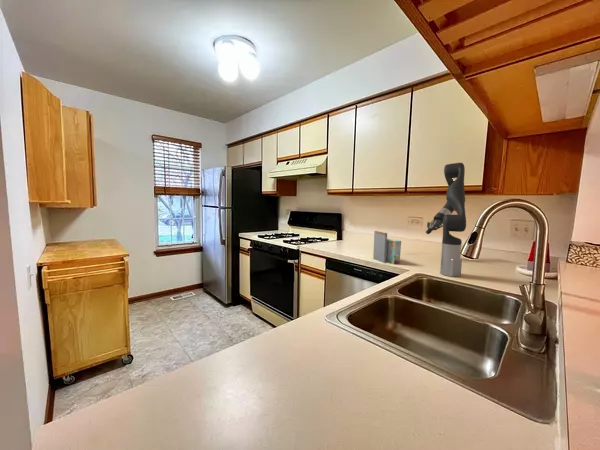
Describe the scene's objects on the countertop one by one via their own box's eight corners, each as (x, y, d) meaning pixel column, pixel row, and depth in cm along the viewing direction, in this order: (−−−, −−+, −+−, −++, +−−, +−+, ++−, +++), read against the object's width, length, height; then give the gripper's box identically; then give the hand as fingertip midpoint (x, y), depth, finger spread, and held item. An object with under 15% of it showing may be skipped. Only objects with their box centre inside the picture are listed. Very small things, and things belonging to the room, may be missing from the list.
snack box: (400, 263, 168) (401, 240, 167) (393, 264, 166) (394, 241, 165) (379, 257, 188) (380, 236, 187) (372, 257, 186) (373, 236, 184)
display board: (386, 262, 170) (387, 233, 168) (383, 262, 170) (385, 233, 168) (375, 258, 183) (376, 230, 181) (373, 258, 182) (374, 230, 180)
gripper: (432, 211, 190) (417, 228, 187) (447, 212, 177) (431, 230, 175) (437, 218, 191) (423, 235, 189) (452, 220, 179) (437, 238, 176)
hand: (427, 233), depth 182 cm, fingers closed
